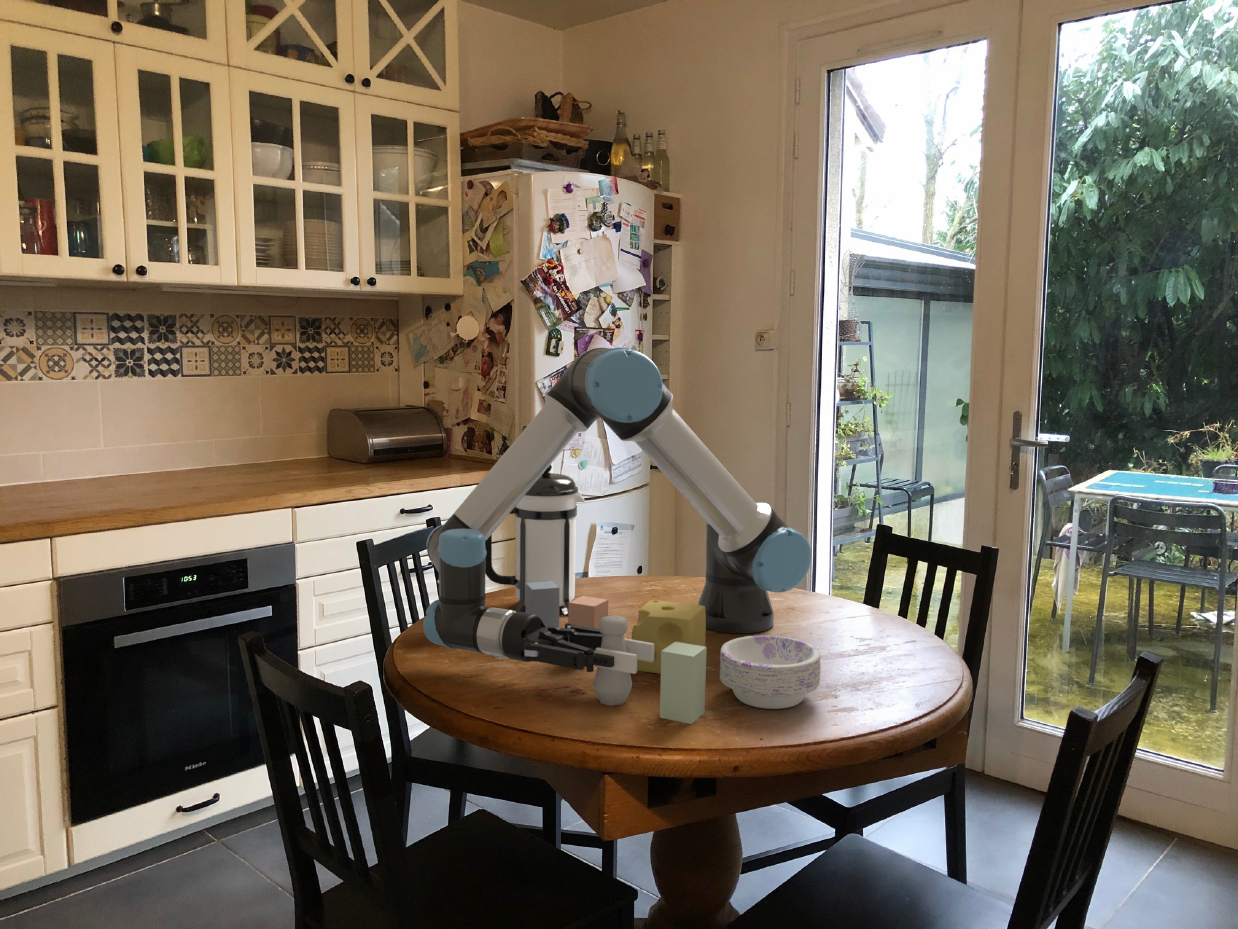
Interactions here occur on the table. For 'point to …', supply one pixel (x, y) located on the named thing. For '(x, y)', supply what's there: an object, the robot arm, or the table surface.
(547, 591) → the slate block
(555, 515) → the coffee press
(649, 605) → the cheese
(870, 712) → the table surface
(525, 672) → the table surface
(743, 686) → the paper bowls
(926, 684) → the table surface
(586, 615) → the terracotta block
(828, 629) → the table surface
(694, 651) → the sage block
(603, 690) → the salt shaker
